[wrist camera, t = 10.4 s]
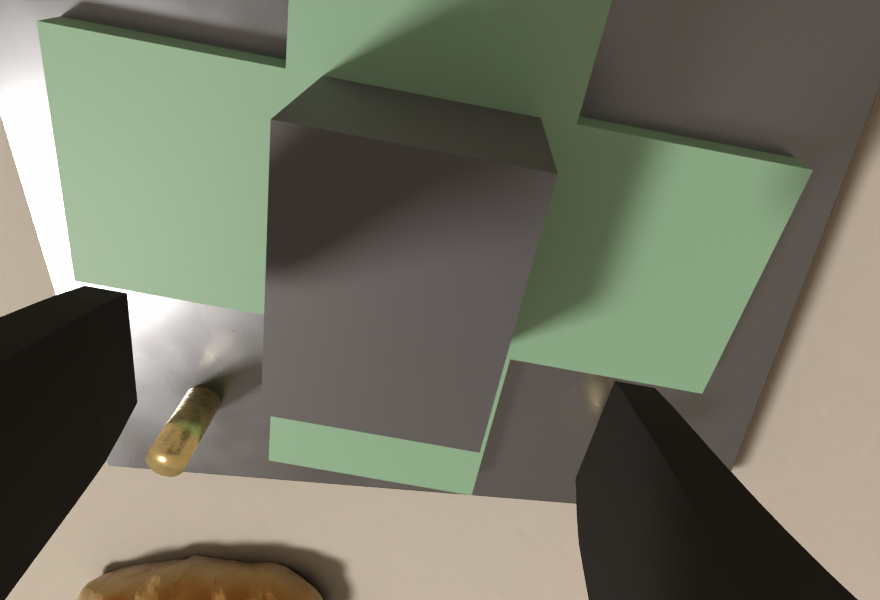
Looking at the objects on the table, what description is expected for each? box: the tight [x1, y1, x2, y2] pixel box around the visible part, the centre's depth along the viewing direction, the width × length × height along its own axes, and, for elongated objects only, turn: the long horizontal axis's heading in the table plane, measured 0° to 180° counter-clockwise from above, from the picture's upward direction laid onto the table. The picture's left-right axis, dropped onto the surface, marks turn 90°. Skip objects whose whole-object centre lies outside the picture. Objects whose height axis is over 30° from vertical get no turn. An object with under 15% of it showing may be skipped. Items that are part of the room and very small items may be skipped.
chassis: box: [0, 0, 880, 504], centre depth 15 cm, size 19×18×4 cm
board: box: [37, 0, 813, 495], centre depth 13 cm, size 16×16×4 cm
